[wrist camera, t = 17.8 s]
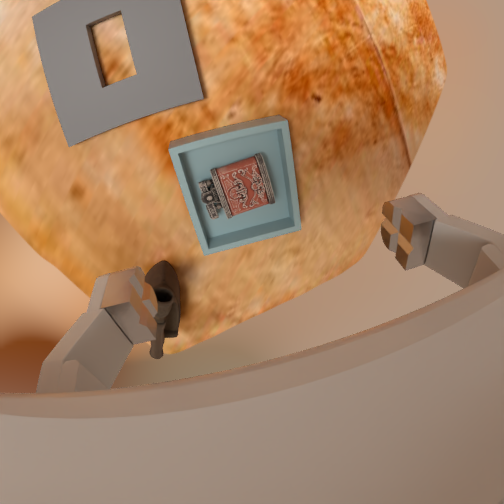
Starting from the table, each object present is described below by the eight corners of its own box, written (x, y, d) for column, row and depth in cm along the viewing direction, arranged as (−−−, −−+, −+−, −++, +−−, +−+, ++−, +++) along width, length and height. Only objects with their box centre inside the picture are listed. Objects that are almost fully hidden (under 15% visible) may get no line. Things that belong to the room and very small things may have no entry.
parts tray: (279, 114, 39) (287, 120, 36) (293, 217, 50) (301, 229, 47) (170, 141, 39) (168, 149, 36) (202, 241, 50) (204, 255, 47)
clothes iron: (189, 250, 50) (193, 307, 40) (176, 313, 59) (178, 368, 48) (144, 244, 48) (136, 300, 37) (138, 308, 56) (134, 364, 45)
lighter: (258, 150, 41) (192, 172, 42) (262, 156, 39) (192, 180, 39) (271, 198, 46) (211, 218, 46) (277, 206, 43) (212, 229, 43)
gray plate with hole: (171, -38, 22) (170, -42, 21) (203, 97, 36) (203, 98, 34) (38, 17, 22) (32, 16, 20) (73, 143, 35) (69, 147, 33)
